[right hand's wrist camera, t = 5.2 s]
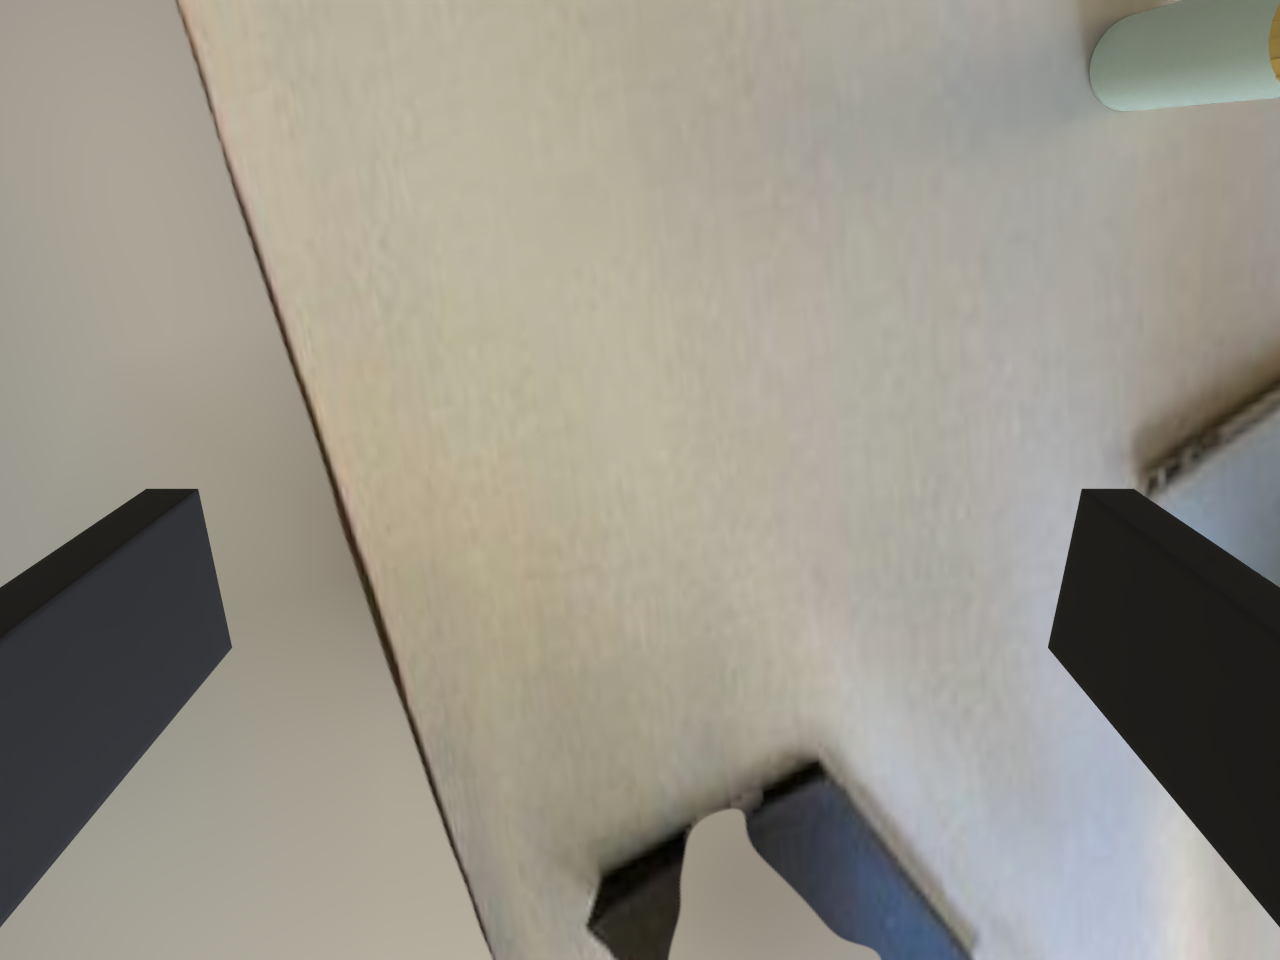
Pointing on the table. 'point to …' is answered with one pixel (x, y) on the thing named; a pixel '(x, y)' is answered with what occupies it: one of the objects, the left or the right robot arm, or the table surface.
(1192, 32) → the jar
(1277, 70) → the lid
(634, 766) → the table surface
